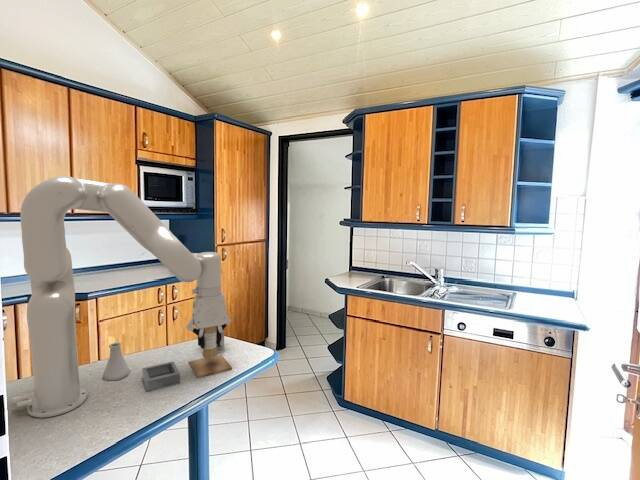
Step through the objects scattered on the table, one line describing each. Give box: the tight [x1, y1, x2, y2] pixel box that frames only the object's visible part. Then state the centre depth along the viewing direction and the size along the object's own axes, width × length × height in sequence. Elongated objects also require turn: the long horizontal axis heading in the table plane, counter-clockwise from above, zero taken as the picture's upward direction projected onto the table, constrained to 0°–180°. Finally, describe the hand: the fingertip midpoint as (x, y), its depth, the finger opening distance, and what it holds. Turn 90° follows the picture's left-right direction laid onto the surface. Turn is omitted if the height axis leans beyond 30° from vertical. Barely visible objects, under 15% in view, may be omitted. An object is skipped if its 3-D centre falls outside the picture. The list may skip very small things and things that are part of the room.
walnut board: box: [187, 353, 233, 379], centre depth 115 cm, size 11×11×1 cm
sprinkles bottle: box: [202, 326, 218, 358], centre depth 114 cm, size 5×5×14 cm
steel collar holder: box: [141, 361, 181, 392], centre depth 106 cm, size 9×9×3 cm
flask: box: [101, 342, 131, 382], centre depth 108 cm, size 7×7×10 cm
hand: (209, 344), depth 115 cm, fingers closed on sprinkles bottle, 4 cm apart
